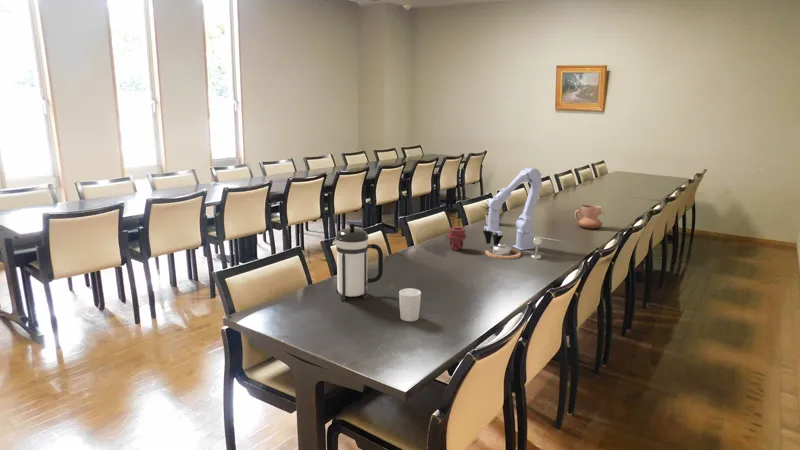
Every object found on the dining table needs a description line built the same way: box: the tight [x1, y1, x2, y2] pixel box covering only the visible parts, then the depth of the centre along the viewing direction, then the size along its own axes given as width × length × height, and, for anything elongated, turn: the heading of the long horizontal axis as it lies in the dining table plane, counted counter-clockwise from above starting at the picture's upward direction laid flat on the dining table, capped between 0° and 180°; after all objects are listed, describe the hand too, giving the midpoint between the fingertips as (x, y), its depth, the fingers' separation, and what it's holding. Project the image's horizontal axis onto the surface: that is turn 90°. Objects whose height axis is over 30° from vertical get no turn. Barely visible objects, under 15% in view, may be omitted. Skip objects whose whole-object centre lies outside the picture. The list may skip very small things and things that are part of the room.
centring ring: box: [484, 247, 522, 260], centre depth 268 cm, size 18×14×1 cm
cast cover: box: [492, 242, 512, 256], centre depth 270 cm, size 9×9×5 cm
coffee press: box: [332, 222, 384, 302], centre depth 205 cm, size 17×16×30 cm
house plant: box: [479, 200, 489, 225], centre depth 336 cm, size 14×14×16 cm
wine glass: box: [530, 236, 543, 260], centre depth 262 cm, size 5×5×11 cm
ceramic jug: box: [574, 204, 605, 230], centre depth 330 cm, size 18×14×14 cm
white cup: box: [398, 287, 422, 322], centre depth 186 cm, size 8×8×10 cm
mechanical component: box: [446, 225, 467, 252], centre depth 275 cm, size 12×10×10 cm
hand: (492, 245), depth 278 cm, fingers open, 7 cm apart
